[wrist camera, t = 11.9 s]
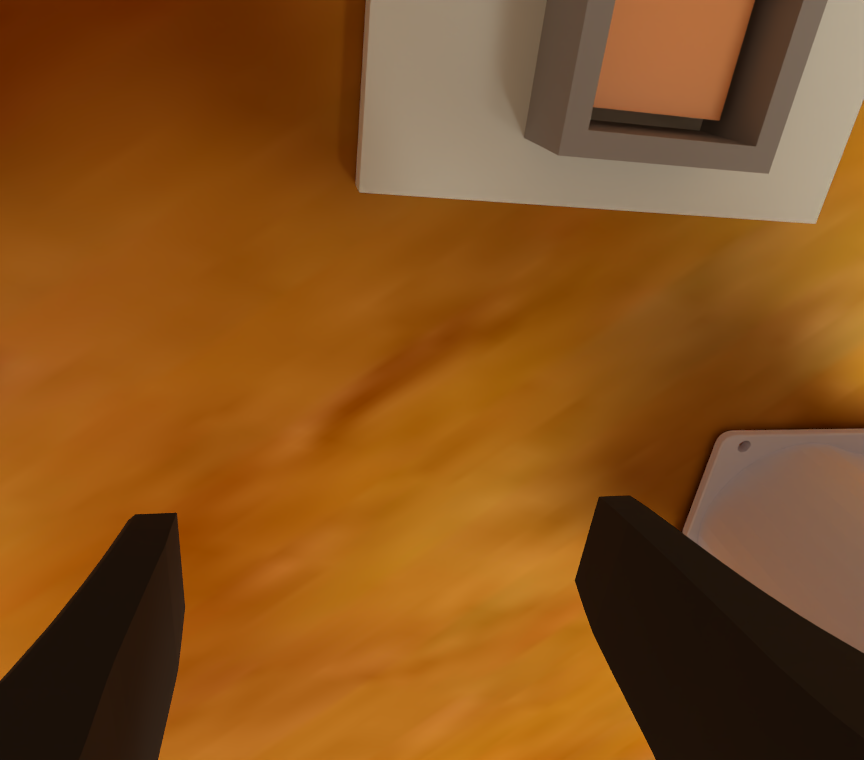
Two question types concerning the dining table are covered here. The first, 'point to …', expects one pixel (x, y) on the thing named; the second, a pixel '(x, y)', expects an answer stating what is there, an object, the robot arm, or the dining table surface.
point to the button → (672, 56)
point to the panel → (601, 111)
